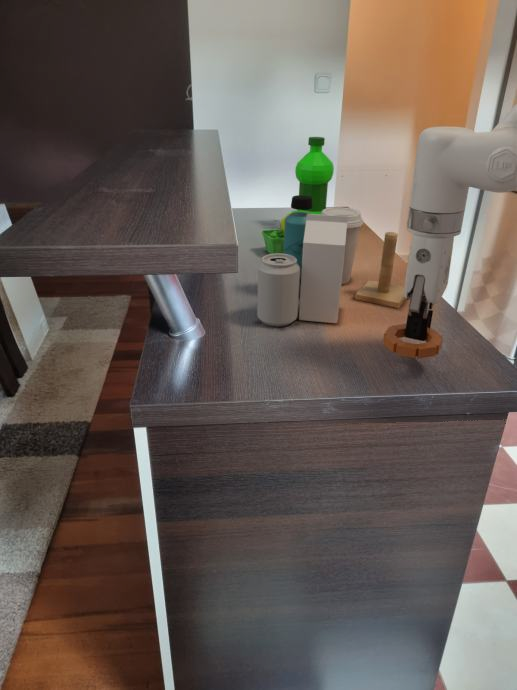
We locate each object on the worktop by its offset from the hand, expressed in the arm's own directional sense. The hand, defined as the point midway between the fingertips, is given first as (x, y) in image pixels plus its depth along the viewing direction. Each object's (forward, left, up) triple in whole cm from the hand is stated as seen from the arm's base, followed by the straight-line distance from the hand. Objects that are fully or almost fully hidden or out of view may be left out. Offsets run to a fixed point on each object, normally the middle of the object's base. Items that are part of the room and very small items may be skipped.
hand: (417, 334), depth 82 cm
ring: (0, +3, 0) cm, 3 cm away
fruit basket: (+41, -38, -4) cm, 56 cm away
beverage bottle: (+28, -15, -4) cm, 32 cm away
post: (+12, -23, -4) cm, 26 cm away
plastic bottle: (+44, -60, -4) cm, 74 cm away
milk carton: (+20, -8, -4) cm, 21 cm away
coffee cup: (+24, -27, -4) cm, 36 cm away
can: (+26, -2, -4) cm, 26 cm away
